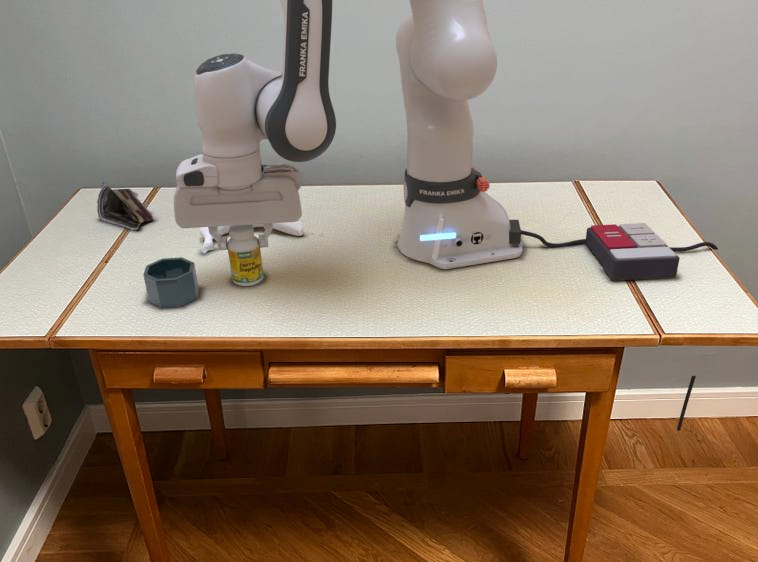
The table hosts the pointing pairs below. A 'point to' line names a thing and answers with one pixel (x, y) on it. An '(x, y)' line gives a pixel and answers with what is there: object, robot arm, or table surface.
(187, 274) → the holder
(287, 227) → the banana
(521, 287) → the table surface
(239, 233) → the supplement bottle
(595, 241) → the control box
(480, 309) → the table surface
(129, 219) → the chocolate cake
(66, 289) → the table surface
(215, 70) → the robot arm
